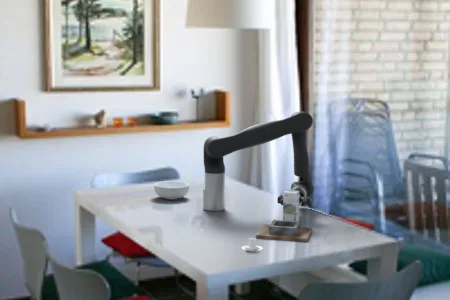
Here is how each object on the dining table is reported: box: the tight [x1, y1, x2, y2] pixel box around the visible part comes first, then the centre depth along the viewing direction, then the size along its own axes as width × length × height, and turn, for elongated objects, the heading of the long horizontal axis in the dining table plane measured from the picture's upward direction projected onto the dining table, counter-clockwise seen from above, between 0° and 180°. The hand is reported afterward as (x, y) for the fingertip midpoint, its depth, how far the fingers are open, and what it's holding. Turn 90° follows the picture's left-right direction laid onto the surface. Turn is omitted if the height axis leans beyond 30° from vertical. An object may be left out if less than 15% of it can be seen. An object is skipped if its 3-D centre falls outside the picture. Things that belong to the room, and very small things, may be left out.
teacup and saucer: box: [241, 237, 264, 252], centre depth 269 cm, size 9×8×4 cm
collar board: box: [255, 219, 313, 242], centre depth 290 cm, size 20×18×4 cm
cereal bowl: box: [153, 180, 190, 200], centre depth 354 cm, size 17×17×7 cm
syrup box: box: [282, 189, 300, 222], centre depth 305 cm, size 6×6×14 cm
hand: (292, 203), depth 307 cm, fingers open, 8 cm apart
